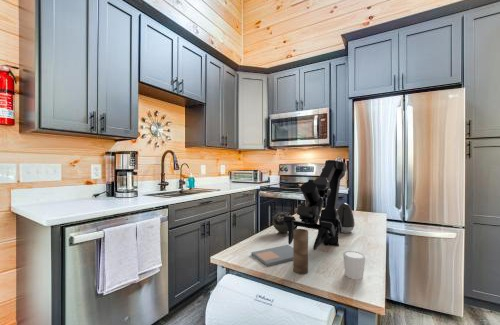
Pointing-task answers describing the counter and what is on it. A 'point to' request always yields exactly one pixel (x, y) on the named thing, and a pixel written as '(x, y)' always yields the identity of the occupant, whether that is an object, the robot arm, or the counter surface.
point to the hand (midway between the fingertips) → (301, 246)
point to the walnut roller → (300, 251)
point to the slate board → (274, 255)
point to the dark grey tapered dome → (346, 217)
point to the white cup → (354, 264)
